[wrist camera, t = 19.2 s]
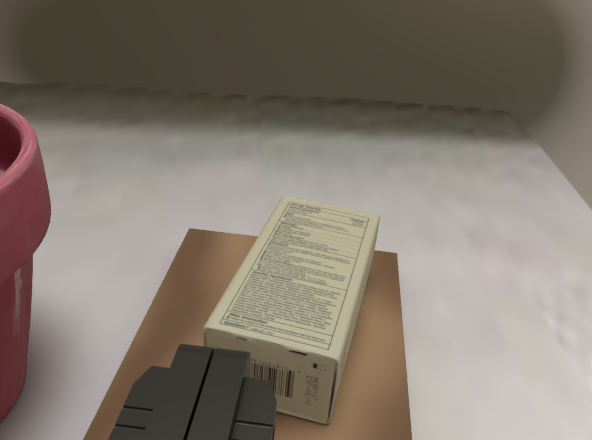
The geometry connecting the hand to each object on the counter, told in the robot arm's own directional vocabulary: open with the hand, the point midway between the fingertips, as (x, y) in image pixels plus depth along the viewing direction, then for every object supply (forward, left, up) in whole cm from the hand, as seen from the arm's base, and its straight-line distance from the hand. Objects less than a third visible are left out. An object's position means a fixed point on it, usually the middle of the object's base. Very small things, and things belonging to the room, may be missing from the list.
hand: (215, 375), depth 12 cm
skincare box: (0, +8, -9) cm, 12 cm away
